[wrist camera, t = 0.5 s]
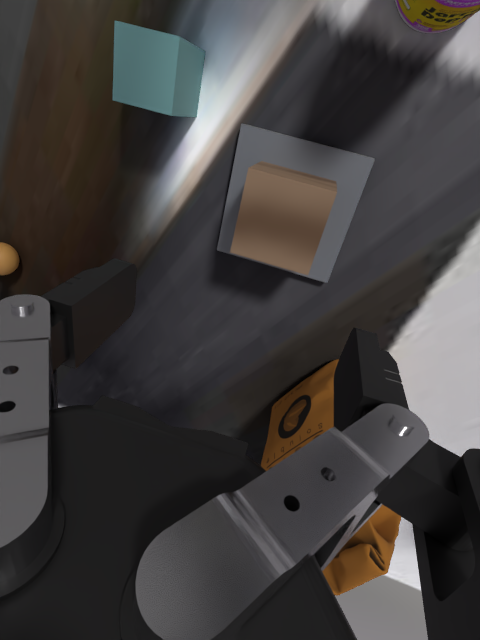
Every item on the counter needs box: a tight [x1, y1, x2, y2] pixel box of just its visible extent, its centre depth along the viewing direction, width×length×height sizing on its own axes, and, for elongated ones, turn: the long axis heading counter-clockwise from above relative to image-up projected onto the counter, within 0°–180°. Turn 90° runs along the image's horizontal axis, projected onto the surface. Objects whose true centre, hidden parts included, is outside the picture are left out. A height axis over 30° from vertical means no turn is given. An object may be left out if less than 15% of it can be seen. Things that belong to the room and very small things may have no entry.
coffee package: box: [261, 359, 401, 595], centre depth 35 cm, size 10×12×22 cm
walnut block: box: [230, 161, 337, 275], centre depth 31 cm, size 7×7×6 cm
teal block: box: [113, 21, 205, 117], centre depth 29 cm, size 5×5×6 cm
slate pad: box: [217, 124, 375, 283], centre depth 34 cm, size 12×12×1 cm
